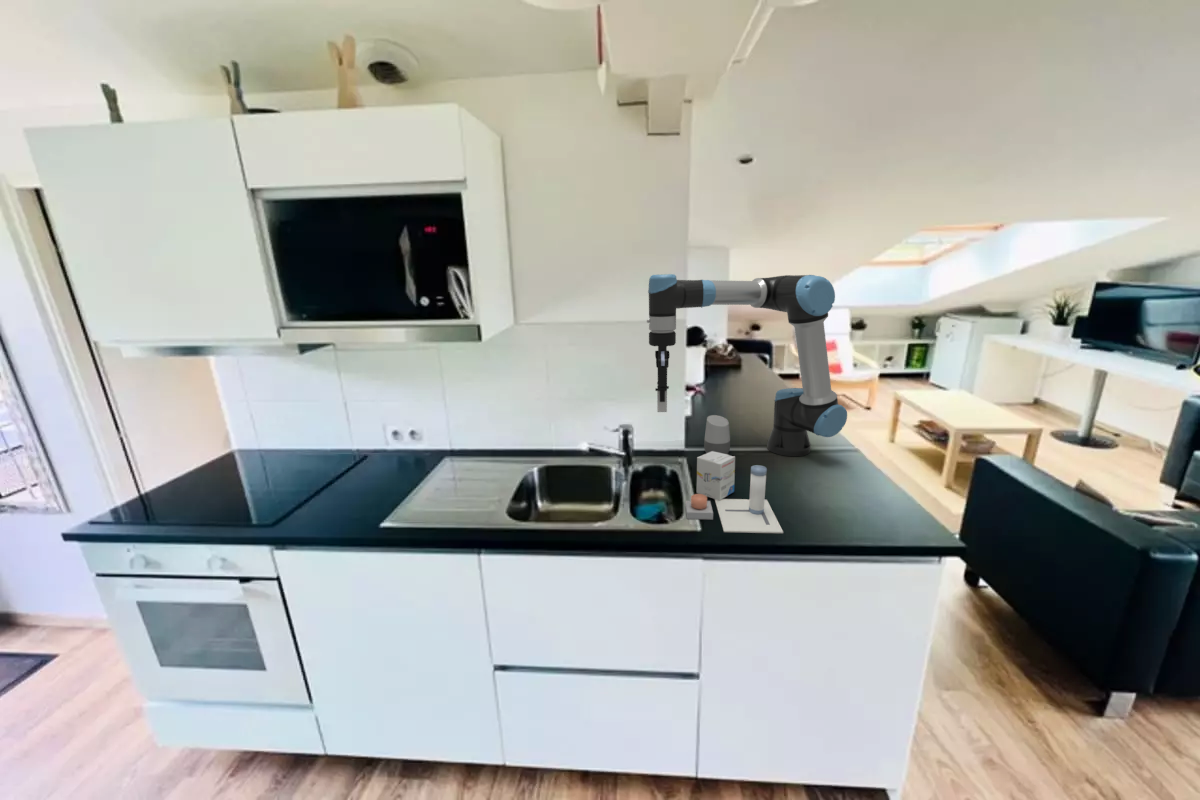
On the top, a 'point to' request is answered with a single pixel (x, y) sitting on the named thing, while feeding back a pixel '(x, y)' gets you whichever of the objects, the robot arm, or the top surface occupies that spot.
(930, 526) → the top surface
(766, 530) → the white flat board
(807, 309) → the robot arm
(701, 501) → the button
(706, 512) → the button box
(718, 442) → the smart speaker
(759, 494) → the marker
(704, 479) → the ink box
